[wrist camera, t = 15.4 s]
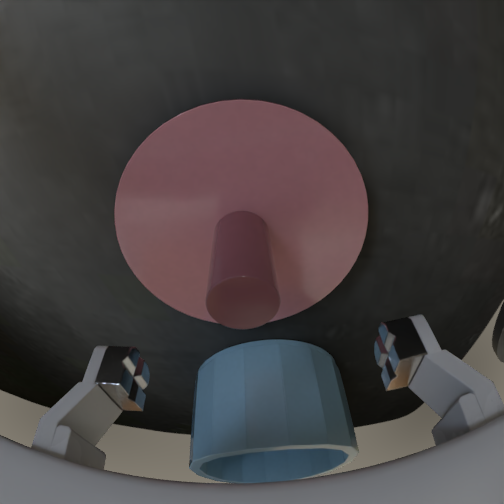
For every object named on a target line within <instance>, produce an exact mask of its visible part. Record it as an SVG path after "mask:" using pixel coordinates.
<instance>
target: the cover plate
mask: <svg viewBox="0 0 504 504" xmlns="http://www.w3.org/2000/svg"><path fill="white" fill-rule="evenodd" d="M114 212H115V228H116V233H117V239H118V242H119V245H120V248H121V251H122V253H123V255H124V257H125V259H126V261H127V263H128V265H129V267H130V268H131V270H132V271H133V273H134V274H135V276H136V277H137V278H138V279H139V280H140V282H141V283H142V284H143V285H144V286H145V287H146V288H147V289H148V290H149V291H150V292H151V293H152V294H153V295H155V296H156V297H157V298H159V299H160V300H161V301H163V302H164V303H166V304H167V305H169V306H171V307H173V308H174V309H176V310H178V311H180V312H182V313H185V314H187V315H189V316H192V317H195V318H198V319H201V320H205V321H210V322H214V323H220V324H222V325H224V326H226V327H229V328H234V329H251V328H256V327H259V326H262V325H264V324H266V323H267V322H271V321H275V320H279V319H283V318H286V317H289V316H291V315H294V314H297V313H299V312H301V311H303V310H305V309H307V308H309V307H310V306H312V305H314V304H315V303H317V302H318V301H320V300H321V299H323V298H324V297H325V296H326V295H328V294H329V293H330V292H331V291H332V290H333V289H334V288H335V287H336V286H338V285H339V284H340V282H341V281H342V280H343V279H344V278H345V276H346V275H347V274H348V273H349V271H350V270H351V268H352V266H353V265H354V263H355V262H356V260H357V258H358V255H359V253H360V251H361V249H362V246H363V243H364V239H365V236H366V231H367V224H368V200H367V193H366V188H365V185H364V182H363V178H362V175H361V173H360V171H359V169H358V167H357V165H356V163H355V161H354V159H353V158H352V156H351V155H350V153H349V152H348V150H347V149H346V147H345V146H344V145H343V144H342V143H341V142H340V141H339V140H338V139H337V138H336V137H335V136H334V134H333V133H331V132H330V131H329V130H328V129H326V128H325V127H324V126H322V125H321V124H320V123H319V122H317V121H316V120H314V119H312V118H311V117H309V116H307V115H305V114H303V113H302V112H300V111H297V110H295V109H292V108H289V107H287V106H284V105H281V104H277V103H273V102H268V101H263V100H254V99H230V100H220V101H216V102H211V103H207V104H203V105H200V106H197V107H194V108H192V109H189V110H187V111H184V112H182V113H180V114H179V115H177V116H175V117H173V118H172V119H170V120H168V121H166V122H165V123H164V124H163V125H161V126H160V127H159V128H158V129H156V130H155V131H154V132H153V133H151V134H150V135H149V136H148V137H147V138H146V139H145V140H144V142H143V143H142V144H141V145H140V146H139V147H138V148H137V150H136V151H135V153H134V154H133V155H132V157H131V158H130V160H129V162H128V163H127V165H126V167H125V170H124V172H123V174H122V176H121V179H120V182H119V186H118V189H117V193H116V200H115V208H114Z"/></svg>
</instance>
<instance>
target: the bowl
mask: <svg viewBox="0 0 504 504" xmlns="http://www.w3.org/2000/svg"><path fill="white" fill-rule="evenodd" d="M358 453H359V450H358V445H357V441H356V437H355V432H354V428H353V423H352V419H351V415H350V411H349V406H348V402H347V398H346V394H345V390H344V386H343V382H342V379H341V375H340V371H339V369H338V367H337V364H336V362H335V360H334V358H333V357H332V356H331V355H330V354H329V353H328V352H327V351H325V350H323V349H322V348H320V347H318V346H315V345H312V344H309V343H305V342H301V341H295V340H283V339H271V340H259V341H252V342H247V343H243V344H238V345H235V346H232V347H229V348H227V349H224V350H222V351H220V352H218V353H216V354H214V355H213V356H211V357H210V358H208V359H207V360H206V361H205V362H204V363H203V364H202V365H201V367H200V368H199V370H198V373H197V378H196V383H195V390H194V403H193V416H192V430H191V446H190V464H189V468H190V469H191V470H192V471H193V472H195V473H196V474H197V475H199V476H202V477H205V478H209V479H212V480H215V481H221V482H229V483H262V482H277V481H288V480H297V479H305V478H312V477H316V476H319V475H322V474H325V473H328V472H331V471H334V470H337V469H339V468H341V467H343V466H344V465H346V464H348V463H350V462H352V461H353V460H354V459H355V457H356V456H357V454H358Z"/></svg>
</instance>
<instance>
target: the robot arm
mask: <svg viewBox="0 0 504 504" xmlns="http://www.w3.org/2000/svg"><path fill="white" fill-rule="evenodd" d="M378 331H379V334H380V335H379V336H378V337H377V338H376V340H375V344H374V353H375V358H376V361H377V364H378V365H379V366H380V367H382V368H383V371H382V374H381V376H382V379H383V382H384V385H385V389H386V391H388V390H393V389H397V388H401V387H405V386H408V387H409V388H410V389H411V390H412V391H413V392H414V393H415V394H416V395H417V396H419V397H420V398H421V399H422V400H423V401H424V402H425V403H426V404H427V405H428V406H429V407H430V408H431V409H433V410H434V411H435V412H436V413H437V414H438V415H439V416H440V417H441V418H442V419H441V420H440V421H439V422H438V423H437V424H436V425H435V426H434V428H433V430H432V434H433V437H434V441H435V444H436V446H434V447H431V448H428V449H426V450H423V451H420V452H417V453H414V454H411V455H408V456H405V457H402V458H398V459H395V460H392V461H388V462H385V463H381V464H377V465H374V466H370V467H365V468H361V469H356V470H352V471H348V472H342V473H337V474H331V475H326V476H320V477H313V478H305V479H297V480H288V481H277V482H262V483H231V484H230V483H229V484H228V483H195V482H181V481H169V480H160V479H153V478H145V477H139V476H132V475H127V474H121V473H117V472H112V471H107V470H104V465H105V459H106V455H105V453H104V452H103V451H101V450H100V449H98V448H97V447H95V445H96V444H97V443H98V442H99V440H100V439H101V438H102V436H103V435H104V434H105V433H106V431H107V430H108V429H109V428H110V426H111V425H112V424H113V423H114V421H115V420H116V419H117V417H118V416H119V415H120V414H121V412H122V410H129V411H143V406H144V402H145V397H146V395H145V393H144V391H143V390H144V388H145V387H146V386H147V385H148V382H149V369H148V366H147V364H146V362H145V360H143V359H141V358H140V357H139V354H140V352H139V351H138V349H137V348H136V347H121V346H97V347H96V348H95V349H94V351H93V354H92V357H91V359H90V362H89V365H88V367H87V370H86V373H85V376H84V379H83V381H82V382H79V383H78V384H76V385H75V386H74V387H73V388H72V389H71V390H70V391H69V392H68V393H67V394H66V395H65V396H64V397H63V398H61V399H60V400H59V401H58V402H57V403H56V404H55V405H54V406H53V407H52V408H51V409H50V410H49V411H48V412H47V413H46V414H45V415H44V416H42V418H40V421H39V424H38V427H37V430H36V434H35V438H34V440H33V444H32V447H31V448H30V447H27V446H24V445H22V444H20V443H17V442H15V441H13V440H10V439H8V438H6V437H4V436H1V435H0V504H504V405H503V402H502V400H501V398H500V396H499V393H498V391H497V389H496V387H495V385H494V383H493V381H491V380H490V379H488V378H487V377H485V376H484V375H482V374H481V373H479V372H478V371H477V370H475V369H474V368H472V367H471V366H469V365H468V364H466V363H465V362H463V361H462V360H460V359H459V358H457V357H456V356H454V355H453V354H451V353H450V352H448V351H447V350H441V348H440V346H439V344H438V342H437V340H436V338H435V336H434V334H433V332H432V331H431V329H430V327H429V325H428V323H427V321H426V319H425V318H424V316H423V315H416V316H412V317H408V318H407V317H406V318H401V319H397V320H392V321H387V322H382V323H381V324H380V325H379V329H378Z"/></svg>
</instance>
